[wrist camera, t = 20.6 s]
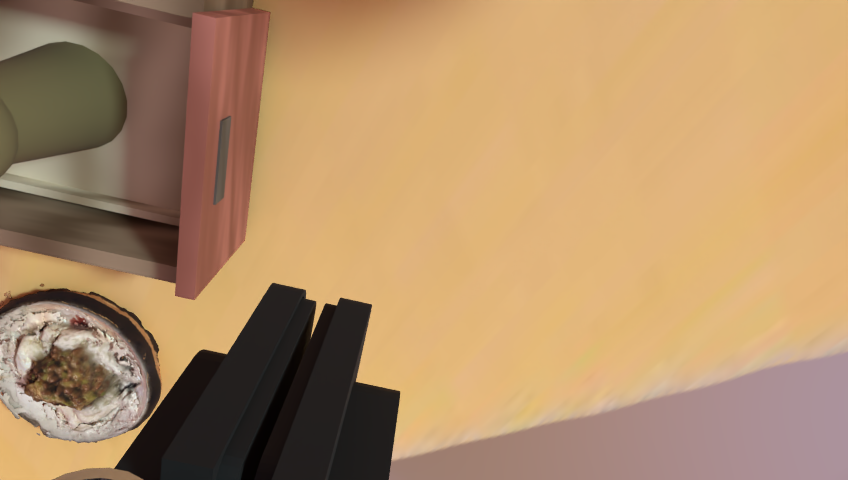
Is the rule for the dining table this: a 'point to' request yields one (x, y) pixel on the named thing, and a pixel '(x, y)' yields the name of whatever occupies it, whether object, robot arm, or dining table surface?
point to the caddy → (96, 228)
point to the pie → (77, 365)
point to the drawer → (159, 120)
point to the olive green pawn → (57, 103)
